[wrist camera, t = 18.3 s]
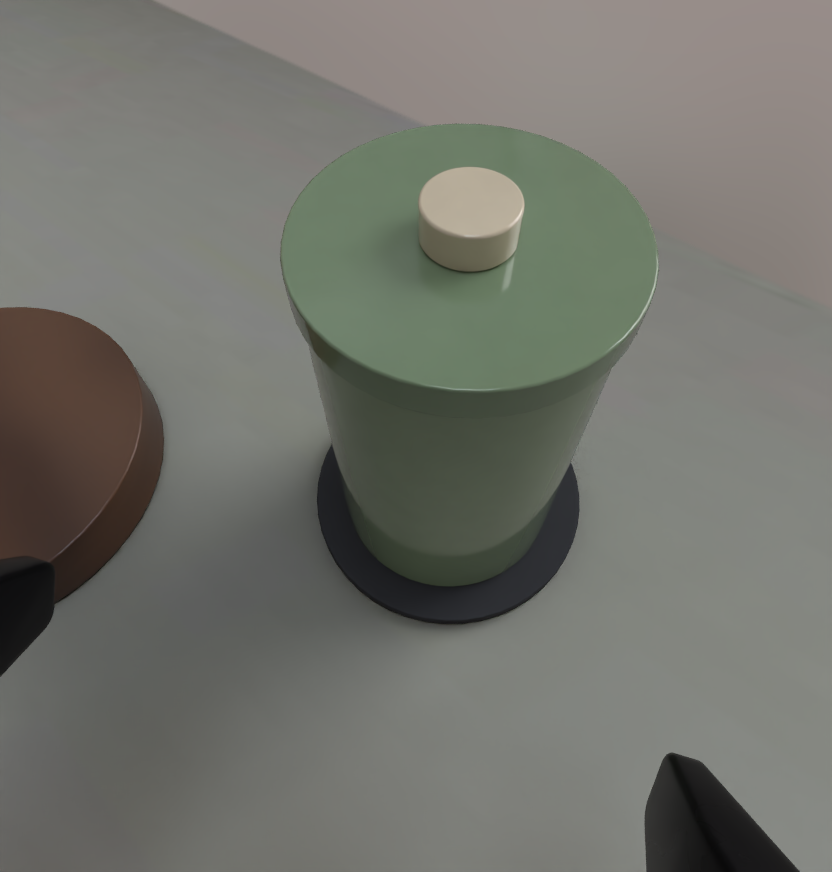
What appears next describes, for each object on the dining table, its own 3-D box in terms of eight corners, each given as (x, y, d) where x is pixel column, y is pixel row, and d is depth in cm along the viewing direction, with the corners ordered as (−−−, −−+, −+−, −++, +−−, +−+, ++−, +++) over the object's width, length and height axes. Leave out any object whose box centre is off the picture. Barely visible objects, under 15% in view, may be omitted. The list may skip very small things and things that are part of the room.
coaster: (470, 686, 18) (471, 684, 17) (264, 508, 20) (261, 503, 20) (625, 480, 21) (629, 474, 20) (430, 350, 24) (430, 343, 23)
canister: (390, 629, 18) (356, 424, 8) (313, 443, 21) (223, 137, 11) (591, 539, 19) (764, 272, 10) (491, 377, 22) (546, 53, 13)
